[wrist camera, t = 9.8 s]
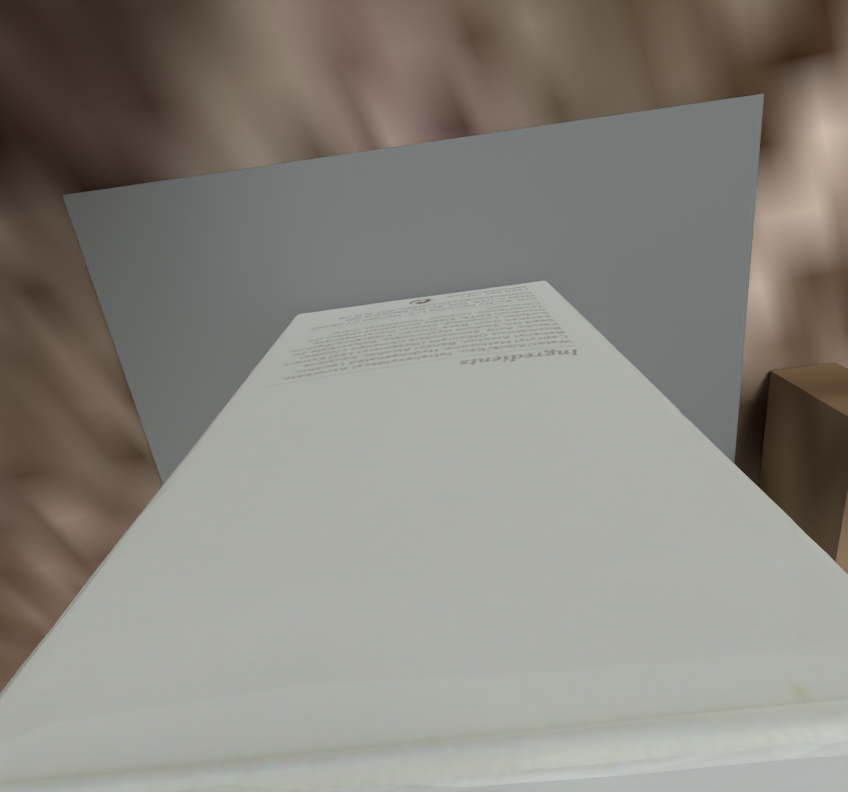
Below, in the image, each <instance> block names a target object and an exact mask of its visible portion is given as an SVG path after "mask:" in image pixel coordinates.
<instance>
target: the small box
mask: <svg viewBox="0 0 848 792" xmlns="http://www.w3.org/2000/svg"><path fill="white" fill-rule="evenodd" d="M0 792H848V574H847V573H846V572H845V571H844V570H843V569H842V568H841V567H840V566H839V565H838V564H837V563H836V562H835V561H834V560H833V559H832V558H831V557H830V556H829V555H828V554H827V553H826V552H825V551H824V550H823V549H822V548H821V547H820V546H819V545H818V544H816V543H815V542H814V541H813V540H812V539H811V538H810V537H809V536H808V535H807V534H806V533H805V532H804V531H803V530H802V529H801V528H800V527H799V526H798V525H797V524H796V523H795V522H794V521H793V520H792V519H791V518H790V517H789V516H788V515H787V514H786V513H785V512H784V511H783V510H782V509H781V508H780V507H779V506H778V505H777V504H776V503H775V502H774V501H772V500H771V499H770V498H769V497H768V496H767V495H766V494H765V493H764V492H763V491H762V490H761V489H760V488H759V487H758V486H757V485H756V484H755V483H754V482H753V481H752V480H751V479H750V478H749V477H747V476H746V475H745V474H744V473H743V472H742V471H741V470H740V469H739V468H738V467H737V466H736V465H735V464H734V463H733V462H732V461H731V460H730V459H729V458H728V457H727V456H726V455H724V454H723V453H722V452H721V451H720V450H719V449H718V448H717V447H716V446H715V445H714V444H713V443H712V442H711V441H710V440H709V439H708V438H707V437H706V436H705V435H704V434H703V433H702V432H701V431H700V430H699V429H698V428H697V427H696V426H695V425H694V424H693V423H692V422H691V421H690V420H688V419H687V418H686V417H685V416H684V415H683V414H682V413H681V412H680V411H679V409H678V408H677V407H676V406H675V405H674V404H673V403H672V402H671V401H670V400H669V399H668V398H667V397H665V396H664V395H663V394H662V393H661V392H660V391H659V390H658V389H657V388H656V387H655V386H654V385H653V384H652V383H651V382H650V381H649V380H648V379H647V378H646V377H645V376H644V375H643V374H642V373H641V372H640V371H639V370H638V369H637V368H636V367H635V366H634V365H633V364H632V363H631V362H630V361H629V360H628V359H627V358H625V357H624V356H623V355H622V354H621V353H620V352H619V351H618V350H617V349H616V348H615V347H614V346H613V345H612V344H611V343H610V342H609V341H608V340H607V339H606V338H605V337H604V336H603V335H602V334H601V333H600V332H599V331H598V330H597V329H596V328H595V327H594V326H593V325H592V324H591V323H590V322H589V321H587V320H586V319H585V318H584V317H583V316H582V315H581V314H580V313H579V312H578V311H577V310H576V309H575V308H574V307H573V306H572V305H571V304H570V303H569V302H567V301H566V300H565V299H564V298H563V297H562V296H561V295H560V293H559V292H557V291H556V290H555V289H554V288H553V287H552V286H551V285H550V284H549V283H548V282H547V281H537V282H530V283H524V284H517V285H509V286H501V287H494V288H486V289H479V290H471V291H464V292H457V293H449V294H442V295H435V296H427V297H419V298H412V299H404V300H397V301H389V302H382V303H375V304H368V305H361V306H354V307H346V308H339V309H332V310H325V311H318V312H311V313H302V314H298V315H297V316H296V317H295V318H294V319H293V320H292V322H291V323H290V324H289V326H288V327H287V328H286V329H285V330H284V332H283V333H282V334H281V335H280V337H279V338H278V339H277V340H276V342H275V343H274V344H273V346H272V347H271V348H270V349H269V351H268V352H267V353H266V355H265V356H264V357H263V358H262V360H261V361H260V362H259V363H258V364H257V365H256V367H255V368H254V369H253V370H252V372H251V373H250V375H249V376H248V378H247V379H246V380H245V381H244V383H243V384H242V385H241V387H240V388H239V389H238V390H237V392H236V393H235V394H234V395H233V397H232V398H231V399H230V400H229V402H228V403H227V404H226V406H225V407H224V408H223V409H222V410H221V412H220V413H219V414H218V415H217V417H216V418H215V419H214V420H213V422H212V423H211V424H210V426H209V427H208V428H207V429H206V431H205V432H204V434H203V435H202V436H201V438H200V439H199V440H198V441H197V442H196V444H195V445H194V446H193V448H192V449H191V450H190V452H189V453H188V454H187V455H186V457H185V458H184V459H183V460H182V462H181V463H180V464H179V465H178V467H177V468H176V469H175V470H174V472H173V473H172V474H171V475H170V477H169V478H168V479H167V481H166V482H165V483H164V484H163V486H162V487H161V488H160V489H159V491H158V492H157V493H156V494H155V496H154V497H153V498H152V500H151V501H150V502H149V503H148V505H147V506H146V507H145V508H144V510H143V511H142V512H141V514H140V515H139V516H138V517H137V519H136V520H135V521H134V522H133V524H132V525H131V526H130V528H129V529H128V530H127V531H126V533H125V534H124V535H123V536H122V538H121V539H120V540H119V542H118V543H117V544H116V545H115V547H114V548H113V549H112V551H111V552H110V553H109V554H108V556H107V557H106V558H105V559H104V561H103V562H102V563H101V564H100V566H99V567H98V568H97V570H96V571H95V572H94V573H93V575H92V576H91V577H90V578H89V580H88V581H87V582H86V584H85V585H84V586H83V587H82V589H81V590H80V591H79V593H78V594H77V595H76V597H75V598H74V599H73V601H72V602H71V603H70V605H69V606H68V607H67V609H66V610H65V611H64V613H63V614H62V615H61V617H60V618H59V619H58V621H57V622H56V623H55V625H54V626H53V627H52V628H51V630H50V631H49V632H48V633H47V635H46V636H45V637H44V638H43V639H42V641H41V642H40V643H39V644H38V646H37V647H36V648H35V649H34V650H33V652H32V653H31V654H30V655H29V657H28V658H27V659H26V660H25V662H24V663H23V664H22V665H21V667H20V668H19V669H18V671H17V672H16V673H15V675H14V676H13V677H12V678H11V680H10V681H9V682H8V684H7V685H6V686H5V688H4V689H3V690H2V691H1V693H0Z"/></svg>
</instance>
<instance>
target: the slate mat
mask: <svg viewBox="0 0 848 792" xmlns="http://www.w3.org/2000/svg"><path fill="white" fill-rule="evenodd" d="M763 100H764V94H759V95H752V96H745V97H738V98H731V99H724V100H717V101H710V102H703V103H696V104H689V105H683V106H676V107H669V108H662V109H655V110H648V111H641V112H634V113H627V114H620V115H613V116H607V117H600V118H593V119H586V120H579V121H572V122H565V123H558V124H551V125H544V126H537V127H530V128H524V129H517V130H510V131H503V132H496V133H489V134H482V135H475V136H468V137H461V138H454V139H447V140H441V141H434V142H427V143H420V144H413V145H406V146H399V147H392V148H385V149H378V150H371V151H365V152H358V153H351V154H344V155H337V156H330V157H323V158H316V159H309V160H302V161H295V162H288V163H282V164H275V165H268V166H261V167H254V168H247V169H240V170H233V171H226V172H219V173H212V174H205V175H199V176H192V177H185V178H178V179H171V180H164V181H157V182H150V183H143V184H136V185H129V186H123V187H116V188H109V189H102V190H95V191H88V192H81V193H74V194H67V195H62V196H63V199H64V202H65V204H66V207H67V210H68V213H69V216H70V219H71V222H72V225H73V227H74V230H75V233H76V236H77V239H78V242H79V245H80V248H81V250H82V253H83V256H84V259H85V262H86V265H87V268H88V271H89V273H90V276H91V279H92V282H93V285H94V288H95V291H96V294H97V296H98V299H99V302H100V305H101V308H102V311H103V314H104V317H105V319H106V322H107V325H108V328H109V331H110V334H111V337H112V340H113V342H114V345H115V348H116V351H117V354H118V357H119V360H120V363H121V365H122V368H123V371H124V374H125V377H126V380H127V383H128V386H129V388H130V391H131V394H132V397H133V400H134V403H135V406H136V409H137V411H138V414H139V417H140V420H141V423H142V426H143V429H144V432H145V434H146V437H147V440H148V443H149V446H150V449H151V452H152V454H153V457H154V460H155V463H156V466H157V469H158V472H159V475H160V477H161V480H162V483H163V484H164V483H165V482H166V481H167V479H168V478H169V477H170V475H171V474H172V473H173V472H174V470H175V469H176V468H177V467H178V465H179V464H180V463H181V462H182V460H183V459H184V458H185V457H186V455H187V454H188V453H189V452H190V450H191V449H192V448H193V446H194V445H195V444H196V442H197V441H198V440H199V439H200V438H201V436H202V435H203V434H204V432H205V431H206V429H207V428H208V427H209V426H210V424H211V423H212V422H213V420H214V419H215V418H216V417H217V415H218V414H219V413H220V412H221V410H222V409H223V408H224V407H225V406H226V404H227V403H228V402H229V400H230V399H231V398H232V397H233V395H234V394H235V393H236V392H237V390H238V389H239V388H240V387H241V385H242V384H243V383H244V381H245V380H246V379H247V378H248V376H249V375H250V373H251V372H252V370H253V369H254V368H255V367H256V365H257V364H258V363H259V362H260V361H261V360H262V358H263V357H264V356H265V355H266V353H267V352H268V351H269V349H270V348H271V347H272V346H273V344H274V343H275V342H276V340H277V339H278V338H279V337H280V335H281V334H282V333H283V332H284V330H285V329H286V328H287V327H288V326H289V324H290V323H291V322H292V320H293V319H294V318H295V317H296V316H297V315H298V314H302V313H311V312H318V311H325V310H332V309H339V308H346V307H354V306H361V305H368V304H375V303H382V302H389V301H397V300H404V299H412V298H419V297H427V296H435V295H442V294H449V293H457V292H464V291H471V290H479V289H486V288H494V287H501V286H509V285H517V284H524V283H530V282H537V281H547V282H548V283H549V284H550V285H551V286H552V287H553V288H554V289H555V290H556V291H557V292H559V293H560V295H561V296H562V297H563V298H564V299H565V300H566V301H567V302H569V303H570V304H571V305H572V306H573V307H574V308H575V309H576V310H577V311H578V312H579V313H580V314H581V315H582V316H583V317H584V318H585V319H586V320H587V321H589V322H590V323H591V324H592V325H593V326H594V327H595V328H596V329H597V330H598V331H599V332H600V333H601V334H602V335H603V336H604V337H605V338H606V339H607V340H608V341H609V342H610V343H611V344H612V345H613V346H614V347H615V348H616V349H617V350H618V351H619V352H620V353H621V354H622V355H623V356H624V357H625V358H627V359H628V360H629V361H630V362H631V363H632V364H633V365H634V366H635V367H636V368H637V369H638V370H639V371H640V372H641V373H642V374H643V375H644V376H645V377H646V378H647V379H648V380H649V381H650V382H651V383H652V384H653V385H654V386H655V387H656V388H657V389H658V390H659V391H660V392H661V393H662V394H663V395H664V396H665V397H667V398H668V399H669V400H670V401H671V402H672V403H673V404H674V405H675V406H676V407H677V408H678V409H679V411H680V412H681V413H682V414H683V415H684V416H685V417H686V418H687V419H688V420H690V421H691V422H692V423H693V424H694V425H695V426H696V427H697V428H698V429H699V430H700V431H701V432H702V433H703V434H704V435H705V436H706V437H707V438H708V439H709V440H710V441H711V442H712V443H713V444H714V445H715V446H716V447H717V448H718V449H719V450H720V451H721V452H722V453H723V454H724V455H726V456H727V457H728V458H729V459H730V460H731V461H732V462H733V463H735V450H736V438H737V425H738V413H739V400H740V388H741V375H742V363H743V350H744V337H745V325H746V312H747V300H748V287H749V275H750V262H751V250H752V237H753V225H754V212H755V200H756V187H757V175H758V162H759V150H760V137H761V125H762V112H763Z"/></svg>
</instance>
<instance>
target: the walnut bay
mask: <svg viewBox="0 0 848 792" xmlns="http://www.w3.org/2000/svg"><path fill="white" fill-rule="evenodd" d="M759 488H760V489H761V490H762V491H763V492H764V493H765V494H766V495H767V496H768V497H769V498H770V499H771V500H772V501H774V502H775V503H776V504H777V505H778V506H779V507H780V508H781V509H782V510H783V511H784V512H785V513H786V514H787V515H788V516H789V517H790V518H791V519H792V520H793V521H794V522H795V523H796V524H797V525H798V526H799V527H800V528H801V529H802V530H803V531H804V532H805V533H806V534H807V535H808V536H809V537H810V538H811V539H812V540H813V541H814V542H815V543H816V544H818V545H819V546H820V547H821V548H822V549H823V550H824V551H825V552H826V553H827V554H828V555H829V556H830V557H831V558H832V559H833V560H834V561H835V562H836V563H837V564H838V565H839V566H840V567H841V568H842V569H843V570H844V571H845V572H846V573H847V574H848V369H847V368H845V367H843V366H841V365H839V364H836V363H830V364H822V365H813V366H805V367H797V368H788V369H780V370H772V371H770V382H769V392H768V402H767V412H766V422H765V432H764V442H763V452H762V462H761V472H760V482H759Z"/></svg>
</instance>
